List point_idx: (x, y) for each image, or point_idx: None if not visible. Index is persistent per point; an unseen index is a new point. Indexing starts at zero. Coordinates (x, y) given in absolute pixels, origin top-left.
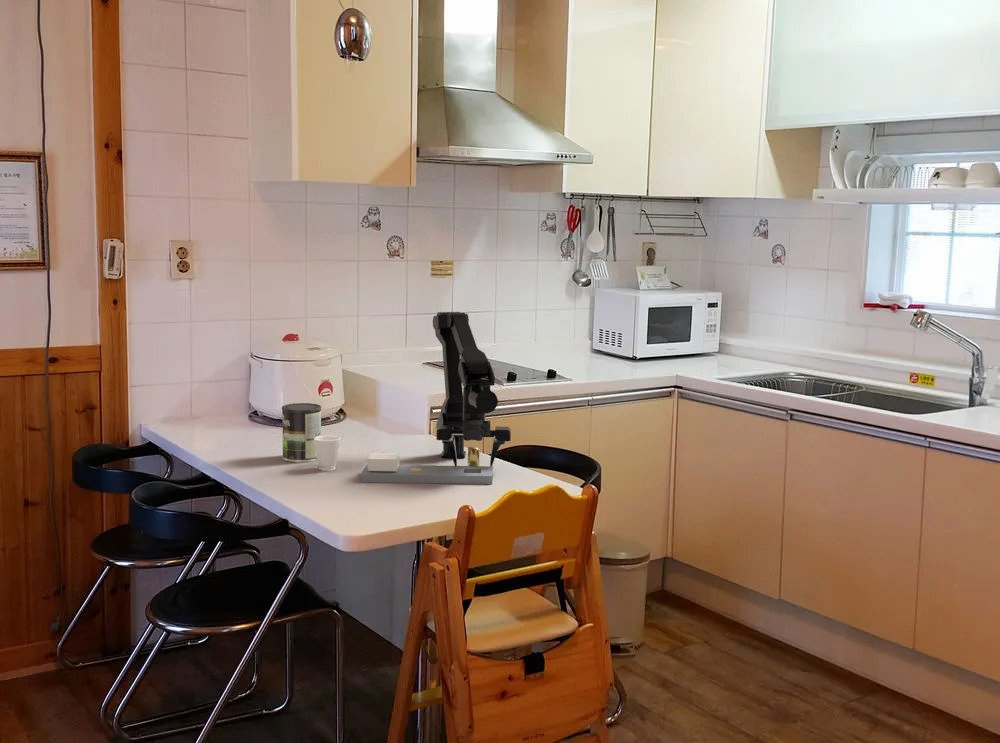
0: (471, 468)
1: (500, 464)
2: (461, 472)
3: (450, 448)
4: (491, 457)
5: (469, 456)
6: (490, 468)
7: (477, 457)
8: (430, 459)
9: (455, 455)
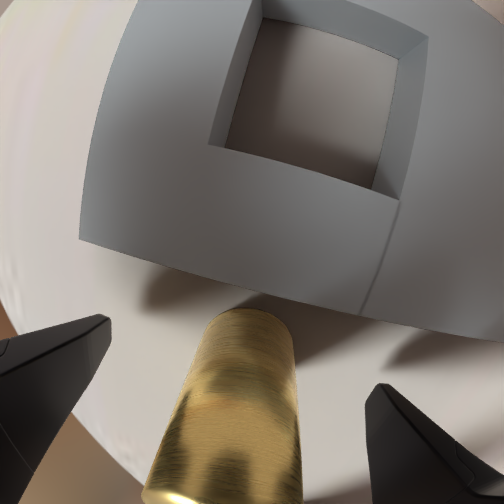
0: (321, 185)
1: (88, 414)
2: (446, 55)
3: (491, 473)
4: (52, 344)
5: (293, 427)
6: (108, 153)
7: (195, 398)
8: (369, 498)
9: (425, 439)
